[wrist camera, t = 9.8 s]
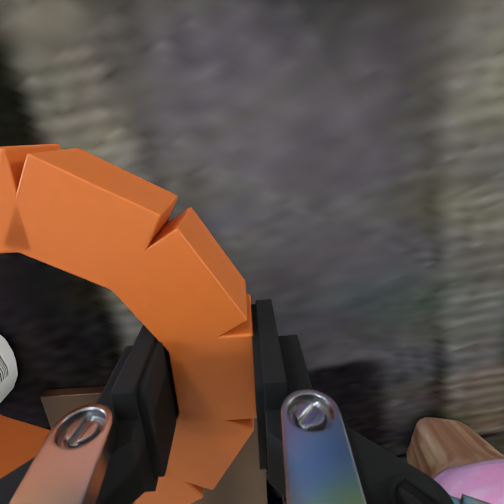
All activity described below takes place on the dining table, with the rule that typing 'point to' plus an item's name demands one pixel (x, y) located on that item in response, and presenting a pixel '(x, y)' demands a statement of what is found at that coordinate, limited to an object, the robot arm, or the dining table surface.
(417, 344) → the dining table surface
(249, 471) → the board
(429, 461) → the cupcake
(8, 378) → the supplement can
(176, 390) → the ring
